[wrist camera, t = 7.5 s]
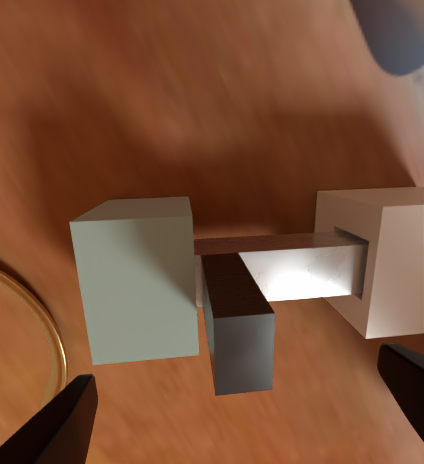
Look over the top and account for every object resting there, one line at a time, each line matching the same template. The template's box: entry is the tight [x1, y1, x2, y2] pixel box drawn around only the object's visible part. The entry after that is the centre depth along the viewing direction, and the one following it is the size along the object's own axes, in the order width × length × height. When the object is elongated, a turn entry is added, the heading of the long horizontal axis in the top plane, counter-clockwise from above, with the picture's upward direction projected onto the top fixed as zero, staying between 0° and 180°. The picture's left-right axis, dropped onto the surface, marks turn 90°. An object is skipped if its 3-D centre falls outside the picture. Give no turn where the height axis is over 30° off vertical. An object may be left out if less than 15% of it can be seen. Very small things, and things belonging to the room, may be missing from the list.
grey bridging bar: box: [194, 231, 369, 396], centre depth 14 cm, size 15×3×9 cm, turn 92°
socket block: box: [69, 196, 199, 365], centre depth 17 cm, size 6×8×7 cm
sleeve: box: [314, 187, 424, 339], centre depth 19 cm, size 8×8×7 cm
